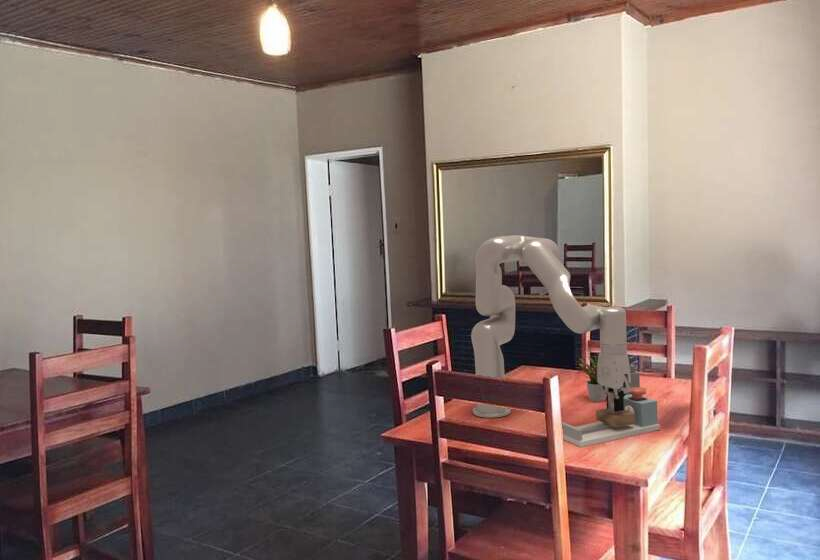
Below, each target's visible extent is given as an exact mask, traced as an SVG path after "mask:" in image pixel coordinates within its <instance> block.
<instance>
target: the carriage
mask: <svg viewBox="0 0 820 560" xmlns="http://www.w3.org/2000/svg"><path fill="white" fill-rule="evenodd" d="M614 398H615V391H612V392H608V408H609V409H607V407H605V408H601V409H596V410H595V416H596V417H595V420H596V421H597V422H603V423H606V424H608V425H611V426H613V427H616V428H617V427H622V426H627V425H631V424H635V413H632V412H629V411H626V410H623V411H618V412H615V411H614Z"/></svg>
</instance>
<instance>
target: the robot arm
mask: <svg viewBox="0 0 820 560" xmlns="http://www.w3.org/2000/svg"><path fill="white" fill-rule="evenodd" d="M559 257H560V249H559V246H558V245H557V243H556V242H555V241H553V240H552V239H550V238H546V237H545V238H543V237H535V236H534V237H533V236H527V235H520V234H519V235H518V234H517V235H516V234H515V235H513V234H512V235H500V236H495V237H492V238H489V239H487V240H486V241H484V242H483V243H481V245H480V246H479V247H478V249H477V251H476V254H475V278H476V279H475V307H476V310H477V312H478V313H479V314H480V315H481V316H485V317H489V318H487V319H484V320H480V321H479V322H477V323H476V324H475V325H474V326H473V327H472V330H471V334H470V337H471V344H472V348H473V354H474V366H475V376H476V375H482V376H490V377H504V378H505V361H504V355H503V352H502V349H501V346H502V345H503V344H506V343H508V342H510V341H511V340H512V339H513V338H514V335H515V330H516V298H515V294H514V292H513V290H512V289H511V288H509V287H508V286H507V285H504V284H502V283H503V282H502V280H503V274H502V269H501V267H500V264H503V263H509V262H510V263H511V262H515V261H516V262H524V264H526V265H527V266H528V268H529V269H530V270H531V272H532V273H533V274H534V275H535V276H536V277H537V279H538V280H539V281H540V282H541V284H542V285H543V286H544V288H546V291H547V292H548V297H549V299H550V302H551V305H552V308H553V309H554V311H555V313H556V314H557V315H558V317H559V318H560V319H561V320H562V322H563V323H564V324H565V326H566V327H567V328H569V329H570V331H572V332H574V333H576V334H579V335H580V334H581V335H583V334H586V333H589V332H592V331H595V330H598V329H599V340H600V341H599V342H600V343H599V345H600V351H599V353H598V355H597V356H598V357H597V382H598V383H599V384H600V385H601V386H602V387H603V389H604V391H605V395H606V396H605V400H606V408H607V409H609V408H608V392H612V391H615V398H614V411H615V412H618V411H623V410H624V399H623V398H624V397H625V395H626V394H627V393H630V392H631V389H630V383H631V376H630V365H629V359H628V358H629V355H628V348H627V347H628V342H627V341H628V340H627V337H628V335H627V312H626V310H625V309H624V308H623V307H621V306H601V305H595V304H588V305H584V306H582V305H581V304H580V303H579V302H578V300H577V299H576V298H575V296H574V295H573V293H572V291H571V287H570V282H571V273H570V272H569V271H568V269H567V268H566V267H565V266H564V264H563V263H562V262H561V261H560V259H558V258H559ZM619 390H621V391H620V392H619ZM510 413H511V408H510V409H508V408H502V407H496V406H491V405H484V404H478V403H477V402H476V407H473V408H472V414H473V415H475V416H476V417H481V418H488V419H494V418H501V417H502V418H503V417H507V416H508V415H510Z"/></svg>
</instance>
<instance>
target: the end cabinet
mask: <svg viewBox="0 0 820 560" xmlns="http://www.w3.org/2000/svg"><path fill="white" fill-rule="evenodd" d="M642 398H643V399H642V400H633V399H632V395H631V394H630V395H625V397H624V398H623V399H624V410H626V411H629V412H632V413H635V424H634V425H637V426H640V427H645V426H650V425H654V424H659V422H658V401H657V400H656V399H652V398H648V397H645V396H642Z"/></svg>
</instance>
